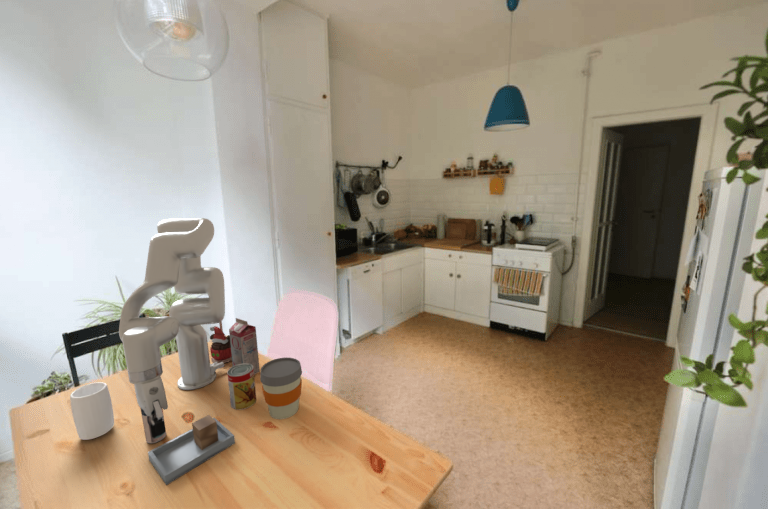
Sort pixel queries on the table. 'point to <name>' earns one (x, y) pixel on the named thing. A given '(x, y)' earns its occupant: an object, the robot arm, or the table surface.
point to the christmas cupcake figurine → (220, 345)
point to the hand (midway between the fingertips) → (155, 429)
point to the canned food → (241, 386)
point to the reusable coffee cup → (281, 386)
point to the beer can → (148, 430)
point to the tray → (186, 453)
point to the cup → (92, 410)
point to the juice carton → (244, 344)
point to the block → (205, 432)
